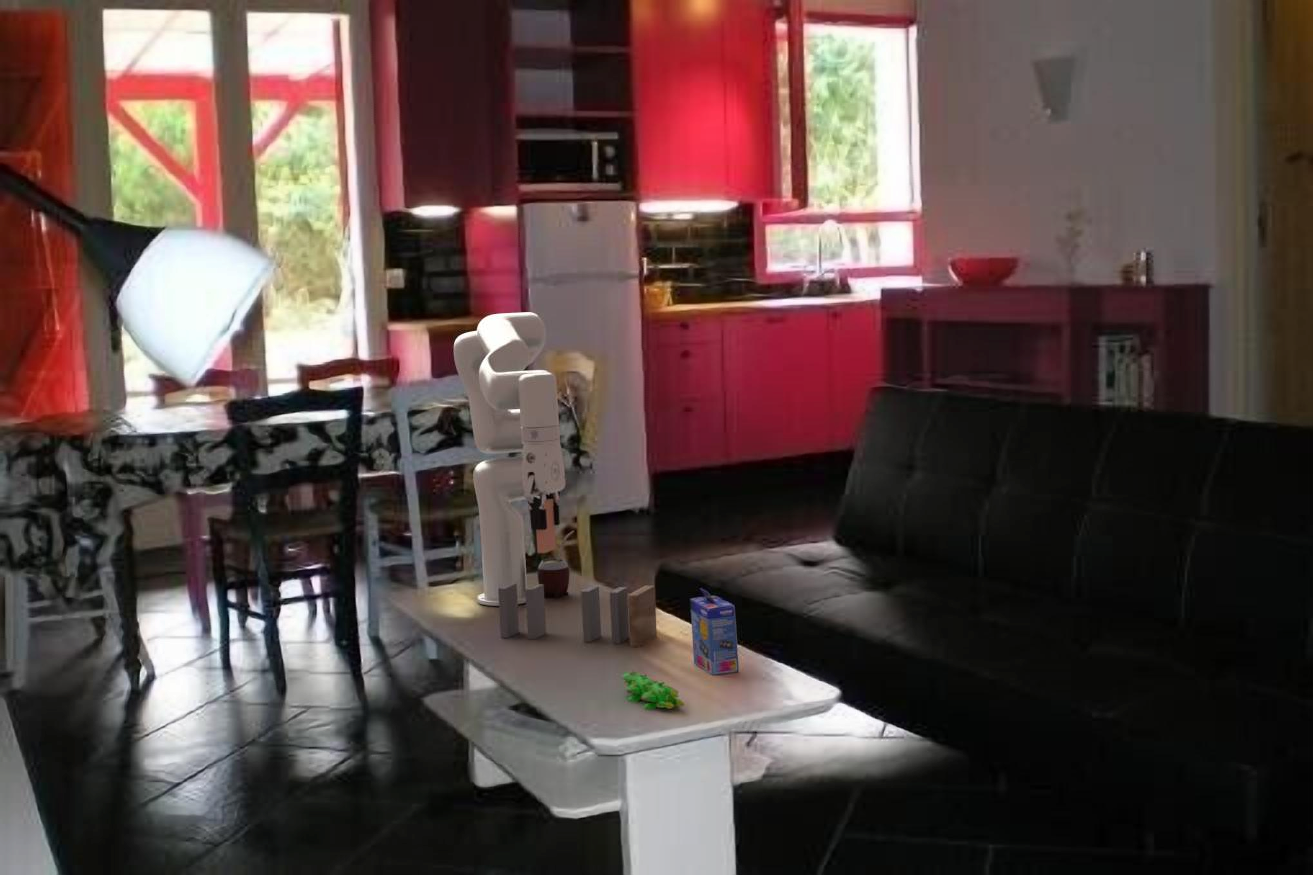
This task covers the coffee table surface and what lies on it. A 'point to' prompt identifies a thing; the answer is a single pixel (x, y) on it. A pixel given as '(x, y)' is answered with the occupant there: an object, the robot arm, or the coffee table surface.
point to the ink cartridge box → (714, 634)
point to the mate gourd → (554, 575)
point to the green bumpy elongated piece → (650, 691)
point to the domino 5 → (619, 615)
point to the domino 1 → (508, 610)
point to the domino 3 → (547, 530)
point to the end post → (642, 616)
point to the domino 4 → (591, 613)
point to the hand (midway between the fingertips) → (545, 526)
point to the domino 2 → (535, 611)
